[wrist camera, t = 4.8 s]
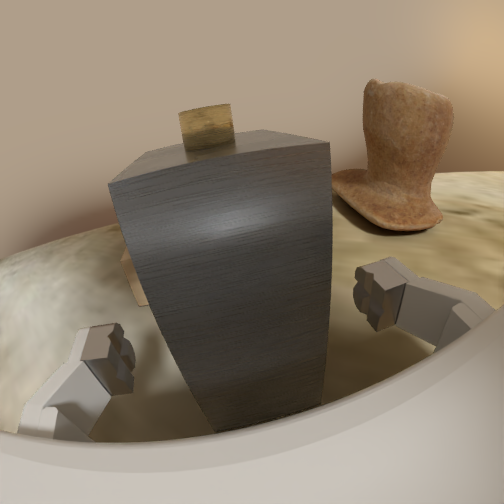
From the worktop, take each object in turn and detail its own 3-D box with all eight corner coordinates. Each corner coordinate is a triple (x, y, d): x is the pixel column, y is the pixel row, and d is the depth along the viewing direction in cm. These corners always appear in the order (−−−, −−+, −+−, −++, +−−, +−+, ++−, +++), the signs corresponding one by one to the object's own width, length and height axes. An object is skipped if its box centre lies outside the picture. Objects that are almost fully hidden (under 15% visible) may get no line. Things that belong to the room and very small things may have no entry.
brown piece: (465, 232, 22) (474, 88, 15) (373, 247, 23) (370, 67, 15) (399, 188, 36) (397, 87, 28) (325, 194, 36) (316, 82, 29)
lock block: (214, 431, 10) (95, 131, 5) (201, 343, 16) (140, 125, 10) (320, 403, 11) (325, 92, 5) (282, 323, 16) (259, 102, 10)
